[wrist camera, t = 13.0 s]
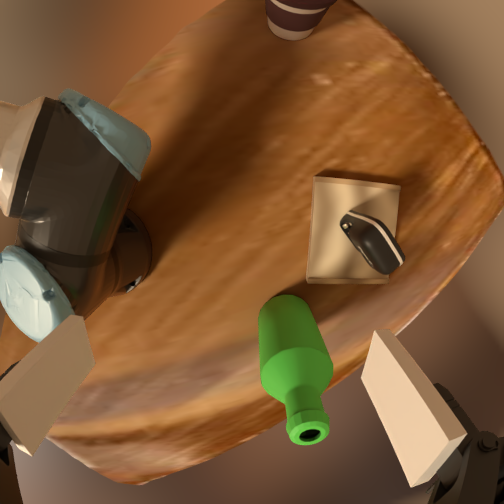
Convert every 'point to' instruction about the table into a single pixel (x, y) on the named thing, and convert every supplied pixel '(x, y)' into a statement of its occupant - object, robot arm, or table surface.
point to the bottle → (295, 366)
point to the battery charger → (373, 241)
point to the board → (332, 236)
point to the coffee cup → (295, 16)
